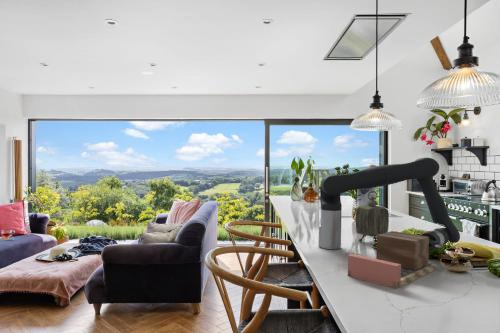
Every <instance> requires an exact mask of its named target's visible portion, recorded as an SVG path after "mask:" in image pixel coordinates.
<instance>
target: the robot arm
mask: <svg viewBox="0 0 500 333" xmlns="http://www.w3.org/2000/svg"><path fill="white" fill-rule="evenodd" d="M439 171H440V165H439V162H438V161H437V160H435V159H434V158H431V157H422V158H416V159H415V160H414V161H411V162H406V163H393V164H382V165H377V166H372V167H367V168H364V169H361V170H358V171H356V172H352V173H346V174H345V173H344V174H332V173H331V174H325V175H324V176H323V177H322V178H321V181H320V185H319V186H320V188H319V189H320V192H319V193H320V194H319V196H320V197H319V198H320V199H319V202H320V225H319V226H318V245H317V246H318V248H322V249H327V250H339V249H341V248H342V210H343V209H342V208H343V207H342V206H343V205H342V201H341V194H344V193H347V192H350V191H355V190H357V189H366V188H374V187H376V188H380V187H384V186H385V187H386V186H389V185H390V186H391V185H395V184H398V183H401V182H405V181H409V180H416V181H417V183H418V185H419V187H420V190H421V191H422V194H423V196H424V199H425V201H426V205H427V207H428V211H429V214H430V216H431V220H432V222H433V223H434V224H436V225H437V224H438V225H442V226H444V227H438V228H434V229H433V230H428V231H426V232H422V233H421V234H419V235H420V236H427V237H429V252H432V251H435V250H439V249H440V248H441V247H443V246H445V245H446V243H447V242H448V240H449V241H450V242H452V243H451V244H456V243H458V242H459V241H460V238H461V234H460V233H461V232H460V230H459V229H458V228H457V226H456V225H455V223H454V222H453V221H452V219H451V217H450V215H449V212H448V209H447V204H446V202H445V201H444V199H443V197H442V196H441V194H440V192H439V191H438V189H437V186H436V185H435V182H434V179H433V177H435V176H436V175H437V174H439ZM444 244H445V245H444ZM447 244H448V243H447ZM442 245H443V246H442Z"/></svg>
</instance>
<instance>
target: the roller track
mask: <svg viewBox="0 0 500 333" xmlns="http://www.w3.org/2000/svg"><path fill="white" fill-rule="evenodd" d="M434 271H437V264H435V263H429V262H428V265H425V266H423V267H421V268H418V269H416V270H410V269H406V268H401V264H397V263H392V262H388V261H383V260H378V259H376V258H373V257H369V256H364V255H359V254H354V253H351V254H347V276H348V277H351V278H355V279H357V280H358V279H359V280H362V281H367V282H370V283H373V282H374V284H377V283H378V285H381V284H382V285H381V286H385V285H386V286H385V287H388V286H390V287H389V288H392V287H394V288H393V289H398V288H397V287H399V288H400V286H401V287H403V286H405V285H407V284H409V283H411V282H413V281H415V280H417V279H419V278H422V277H424V276H425V275H428V274H430V273H432V272H434ZM406 283H407V284H406ZM404 284H405V285H404ZM402 285H403V286H402Z"/></svg>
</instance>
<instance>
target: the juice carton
mask: <svg viewBox="0 0 500 333" xmlns="http://www.w3.org/2000/svg"><path fill="white" fill-rule="evenodd" d="M376 188H377V187H374V188H366V189H356V191H357V192H356V209H357V208H358V207H359V206H362V205H367V203H368V202H369V201H371V200H370V199H369V198H372V197H374V198H376V196H377V195H376V193H377V190H376ZM371 191H375V192H376V193H370V194H369V192H371ZM368 194H369V198H368ZM374 201H376V202H377V198H376V199H375V200H374ZM374 206H377V205H374Z"/></svg>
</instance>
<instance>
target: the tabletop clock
mask: <svg viewBox="0 0 500 333" xmlns="http://www.w3.org/2000/svg"><path fill="white" fill-rule="evenodd" d="M370 193H376V198H374V197H372V198H369V194H370ZM369 194H368V198H369V199H370V200H371V201H369V202H368V203H367V205H362V206H359V207H358V208H357V207H356V210H355V231H356V233H357V234H359V235H362V236H361V238H359V239H358V242H360V243H362V242H363V239H364V238H365V237H366V236H368V237H372V239H373V242H374V243H375V242H377V235H379V234H383V233H387V232H389V224H390V222H389V216H390V214H389V210H388V209H387V208H386V207H385V206H381V205H379V204H378V202H377V198H378V192H377V191H376V192H375V191H371V192H369ZM375 199H376V201H374V200H375ZM374 205H376V206H374ZM374 239H375V240H374Z"/></svg>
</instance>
